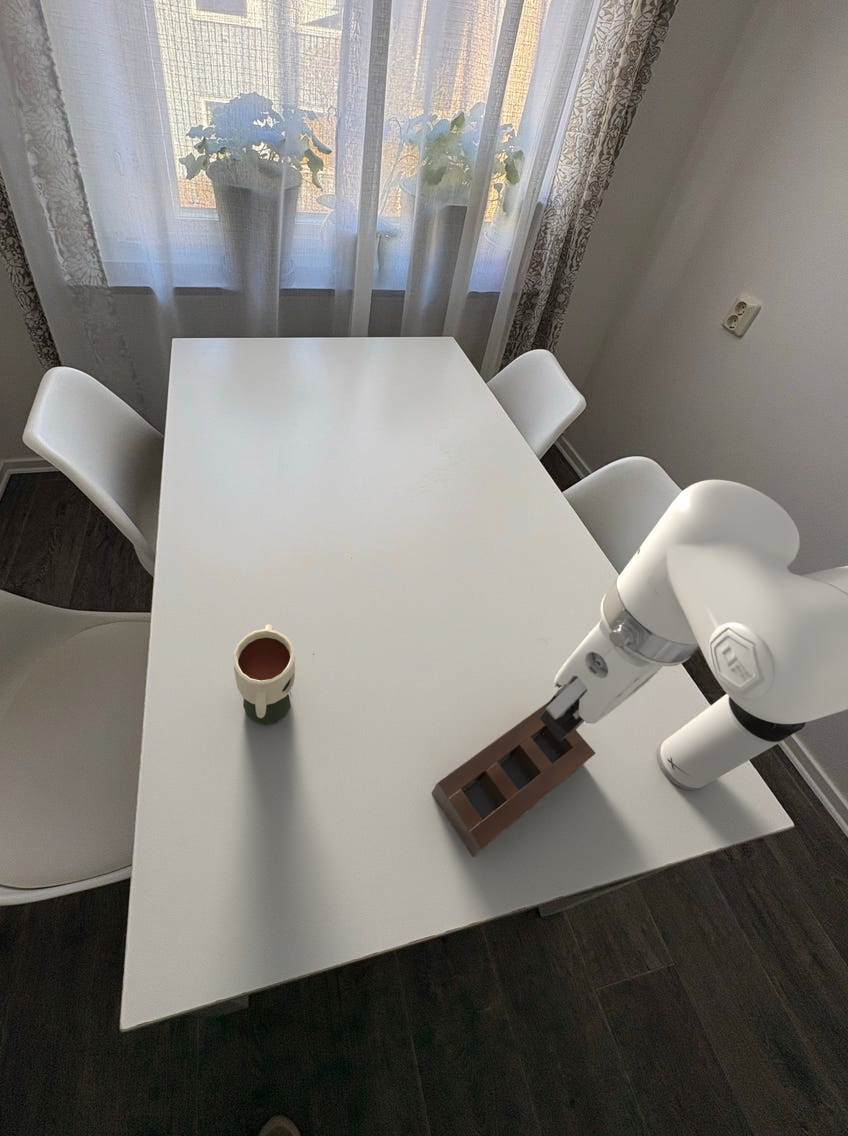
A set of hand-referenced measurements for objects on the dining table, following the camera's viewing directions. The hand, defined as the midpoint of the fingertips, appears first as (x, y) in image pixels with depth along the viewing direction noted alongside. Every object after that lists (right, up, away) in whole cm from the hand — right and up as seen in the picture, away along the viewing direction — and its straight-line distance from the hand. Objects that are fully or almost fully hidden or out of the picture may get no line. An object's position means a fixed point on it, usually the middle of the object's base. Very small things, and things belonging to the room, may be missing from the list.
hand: (570, 709), depth 55 cm
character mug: (-35, -6, +15) cm, 38 cm away
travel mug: (+20, -14, +15) cm, 29 cm away
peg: (0, -3, +3) cm, 4 cm away
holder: (-3, -13, +12) cm, 18 cm away
